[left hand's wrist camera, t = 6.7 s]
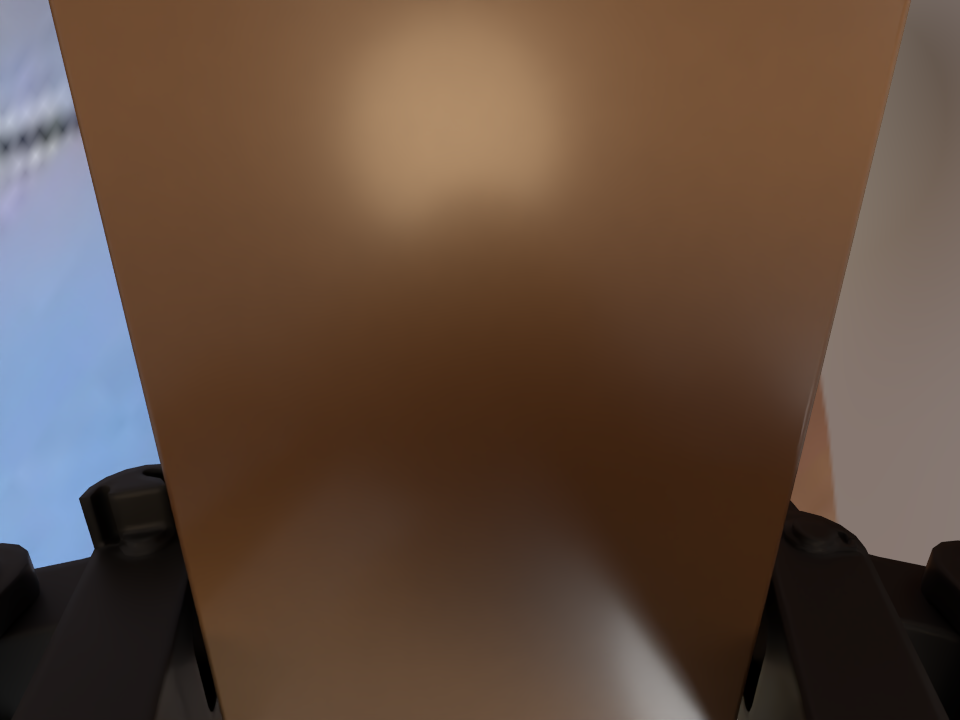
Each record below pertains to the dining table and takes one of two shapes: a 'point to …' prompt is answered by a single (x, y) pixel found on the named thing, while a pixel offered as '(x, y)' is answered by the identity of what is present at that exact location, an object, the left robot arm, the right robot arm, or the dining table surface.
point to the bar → (479, 329)
